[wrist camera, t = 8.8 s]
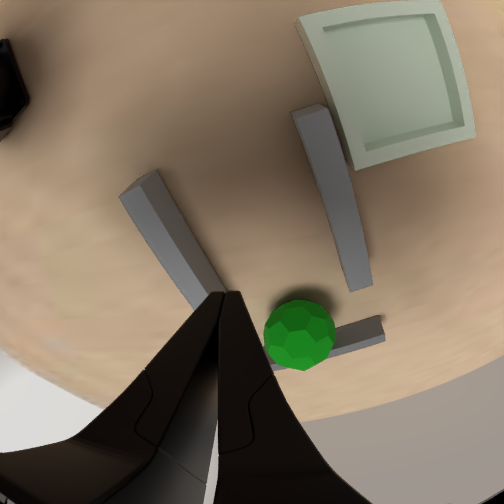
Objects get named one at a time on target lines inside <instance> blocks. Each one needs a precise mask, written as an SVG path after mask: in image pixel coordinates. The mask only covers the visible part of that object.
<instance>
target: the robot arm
mask: <svg viewBox="0 0 504 504" xmlns="http://www.w3.org/2000/svg"><path fill="white" fill-rule="evenodd" d="M28 104H29V95H28V92H27V90H26V88H25V85H24V83H23V80H22V77H21V75H20V72H19V69H18V67H17V64H16V61H15V58H14V55H13V52H12V49H11V46H10V43H9V40H8V39H1V40H0V142H1V140H2V139H3V138H4V136H5V135H6V134H7V133H8V131H9V130H10V129H11V128H12V126H13V122H14V121H15V119H16V118H17V117H18V116H19V115H20V113H21V112H22V111H23V110H24V109H25V108H26V107H27V105H28ZM217 420H218V454H219V457H218V461H219V462H218V463H219V464H218V480H217V485H216V491H215V496H214V502H213V504H372V503H371V502H370V501H368V500H367V499H366V498H365V497H364V496H362V495H361V494H360V493H359V492H358V491H356V490H355V489H354V488H353V487H352V486H350V485H349V484H348V483H347V482H346V481H345V480H343V479H342V478H341V477H340V476H339V475H338V474H337V473H336V472H335V471H334V470H333V469H332V468H331V467H330V466H329V464H328V463H327V462H326V461H325V459H324V458H323V457H322V455H321V454H320V452H319V451H318V450H317V448H316V447H315V445H314V444H313V442H312V441H311V439H310V438H309V436H308V435H307V433H306V432H305V430H304V429H303V427H302V426H301V424H300V423H299V421H298V420H297V418H296V416H295V415H294V413H293V411H292V410H291V408H290V406H289V404H288V403H287V401H286V399H285V397H284V395H283V392H282V390H281V388H280V386H279V384H278V382H277V379H276V377H275V375H274V372H273V370H272V368H271V365H270V363H269V361H268V358H267V356H266V353H265V351H264V349H263V346H262V344H261V341H260V339H259V337H258V334H257V332H256V329H255V327H254V324H253V322H252V320H251V317H250V315H249V312H248V310H247V307H246V305H245V302H244V300H243V297H242V295H241V292H240V291H227V292H224V291H212V292H211V293H210V294H209V295H208V296H207V297H206V298H205V299H204V301H203V302H202V303H201V304H200V305H199V306H198V307H197V309H196V310H195V311H194V312H193V313H192V314H191V315H190V317H189V318H188V319H187V320H186V321H185V322H184V323H183V325H182V326H181V327H180V328H179V329H178V330H177V331H176V333H175V334H174V335H173V336H172V337H171V338H170V340H169V341H168V342H167V343H166V344H165V345H164V346H163V348H162V349H161V350H160V351H159V352H158V353H157V354H156V356H155V357H154V358H153V359H152V360H151V361H150V363H149V364H148V365H147V366H146V367H145V370H142V372H141V373H140V374H139V375H138V376H137V377H136V379H135V380H134V381H133V382H132V383H131V384H130V385H129V386H128V387H127V388H126V389H125V391H124V392H123V393H122V394H120V395H119V396H118V397H117V398H116V399H115V400H114V401H113V402H112V403H111V404H110V405H109V406H108V407H107V408H106V409H105V410H104V411H102V412H101V413H100V414H99V415H98V416H97V417H96V418H95V419H94V420H93V421H92V422H90V423H89V424H88V425H87V426H86V427H85V428H84V429H83V430H81V431H80V432H79V433H77V434H76V435H74V436H73V437H71V438H69V439H67V440H64V441H60V442H57V443H53V444H48V445H44V446H40V447H35V448H30V449H25V450H19V451H14V452H6V453H0V504H203V501H204V495H205V490H206V483H207V478H208V472H209V465H210V460H211V454H212V448H213V443H214V437H215V431H216V426H217ZM479 504H504V489H503V490H501V491H500V492H498V493H496V494H494V495H493V496H491V497H489V498H488V499H486V500H484V501H482V502H481V503H479Z"/></svg>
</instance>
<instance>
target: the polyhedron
mask: <svg viewBox="0 0 504 504" xmlns="http://www.w3.org/2000/svg"><path fill="white" fill-rule="evenodd" d="M335 339H336V331H335V324H334V322H333V320H332V318H331V317H330V315H329V314H328V313H327V312H326V311H325V310H324V309H323V308H322V307H321V306H320V305H319V304H317V303H314V302H310V301H307V300H293V301H290V302H287V303H285V304H282V305H281V306H279V307H278V308H277V309H275V310H274V311H273V312H272V313H271V315H270V317H269V318H268V320H267V322H266V324H265V328H264V344H265V349H266V351H267V352H268V354H269V355H270V356H271V357H272V359H273V360H274V361H275V362H276V363H277V364H278V365H280V366H284V367H288V368H292V369H297V370H302V371H305V370H307V369H309V368H311V367H313V366H315V365H316V364H318V363H320V362H322V361H323V360H325V359H327V357H328V355H329V353H330V351H331V349H332V346H333V344H334V341H335Z"/></svg>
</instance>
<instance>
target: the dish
mask: <svg viewBox="0 0 504 504" xmlns="http://www.w3.org/2000/svg"><path fill="white" fill-rule="evenodd" d="M295 26H296V29H297V31H298V33H299V35H300V37H301V39H302V42H303V44H304V46H305V48H306V51H307V53H308V55H309V58H310V60H311V62H312V65H313V67H314V70H315V72H316V74H317V77H318V80H319V82H320V85H321V87H322V90H323V93H324V95H325V98H326V101H327V103H328V106H329V109H330V112H331V115H332V118H333V121H334V123H335V126H336V130H337V133H338V136H339V139H340V142H341V145H342V148H343V152H344V155H345V159H346V161H347V162H348V163H349V164H350V165H351V167H352V168H353V169H354V170H355V171H357V170H360V169H363V168H367V167H370V166H373V165H377V164H380V163H383V162H387V161H390V160H394V159H397V158H400V157H404V156H407V155H411V154H414V153H418V152H422V151H425V150H429V149H433V148H436V147H440V146H444V145H448V144H452V143H455V142H459V141H463V140H467V139H471V138H476V133H475V125H474V118H473V112H472V106H471V100H470V95H469V90H468V85H467V81H466V77H465V73H464V69H463V65H462V61H461V58H460V54H459V51H458V47H457V44H456V41H455V38H454V35H453V32H452V29H451V26H450V24H449V21H448V18H447V16H446V13H445V11H444V8H443V6H442V3H441V1H440V0H406V1H389V2H378V3H369V4H361V5H354V6H348V7H342V8H336V9H331V10H326V11H321V12H317V13H312V14H308V15H304V16H300V17H298V19H297V20H296V22H295Z"/></svg>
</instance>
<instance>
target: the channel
mask: <svg viewBox="0 0 504 504" xmlns="http://www.w3.org/2000/svg"><path fill="white" fill-rule="evenodd" d="M291 115H292V117H293V120H294V123H295V125H296V128H297V130H298V133H299V136H300V138H301V141H302V144H303V146H304V149H305V152H306V155H307V157H308V160H309V163H310V166H311V169H312V172H313V175H314V177H315V180H316V183H317V186H318V189H319V192H320V196H321V199H322V202H323V205H324V208H325V211H326V214H327V218H328V221H329V224H330V228H331V231H332V234H333V238H334V241H335V245H336V248H337V252H338V256H339V259H340V263H341V267H342V270H343V273H344V276H345V279H346V282H347V285H348V288H349V291H350V292H353V291H356V290H359V289H362V288H365V287H368V286H371V285H373V281H372V275H371V270H370V264H369V259H368V253H367V248H366V243H365V238H364V234H363V229H362V225H361V220H360V216H359V212H358V207H357V203H356V199H355V195H354V191H353V188H352V184H351V180H350V176H349V173H348V169H347V166H346V162H345V159H344V156H343V152H342V149H341V146H340V142H339V139H338V136H337V133H336V130H335V127H334V124H333V121H332V118H331V115H330V112H329V110H328V108H326V107H324V106H322V105H320V104H315V105H312V106H309V107H305V108H302V109H299V110H296V111H293V112H291ZM119 199H120V201H121V202H122V204H123V206H124V207H125V209H126V211H127V212H128V214H129V215H130V217H131V219H132V220H133V222H134V223H135V225H136V227H137V228H138V230H139V231H140V233H141V234H142V236H143V237H144V239H145V241H146V242H147V244H148V245H149V247H150V248H151V250H152V251H153V253H154V254H155V256H156V257H157V259H158V260H159V262H160V263H161V265H162V266H163V267H164V269H165V270H166V272H167V273H168V275H169V276H170V278H171V279H172V280H173V282H174V283H175V285H176V286H177V288H178V289H179V290H180V292H181V293H182V295H183V296H184V297H185V299H186V300H187V301H188V303H189V304H190V305H191V307H192V308H193V310H194V311H195V310H196V309H197V307H198V306H199V305H200V304H201V303H202V302H203V301H204V299H205V298H206V297H207V296H208V295H209V294H210V293H211V292H212V291H224V292H227V290H226V289H225V287H224V286H223V284H222V282H221V281H220V279H219V277H218V276H217V274H216V272H215V271H214V269H213V267H212V266H211V264H210V262H209V261H208V259H207V257H206V256H205V254H204V252H203V251H202V249H201V247H200V246H199V244H198V242H197V241H196V239H195V237H194V235H193V234H192V232H191V230H190V228H189V227H188V225H187V223H186V222H185V220H184V218H183V216H182V215H181V213H180V211H179V209H178V208H177V206H176V204H175V202H174V201H173V199H172V197H171V195H170V193H169V192H168V190H167V188H166V186H165V184H164V183H163V181H162V179H161V177H160V175H159V173H158V172H157V170H154V171H152V172H150V173H148V174H146V175H144V176H142V177H141V178H139V179H137V180H135V181H134V182H133V183H132V184H131V185H130V186H129V187H128V188H127V189H126V190H125V191H124V192H123V193H122V194H121V195H120V196H119ZM335 331H336V339H335V341H334V344H333V346H332V349H331V351H330V353H329V355H328V357H327V358H331V357H335V356H338V355H342V354H345V353H349V352H352V351H356V350H359V349H362V348H366V347H369V346H372V345H375V344H378V343H381V342H384V341H385V333H384V330H383V327H382V324H381V321H380V319H379V316H378V315H377V316H374V317H371V318H368V319H365V320H362V321H359V322H356V323H352V324H349V325H346V326H343V327H339V328H336V329H335ZM263 349H264V351H265V353H266V356H267V358H268V361H269V363H270V365H271V368H272V370H273V371H276V370H281V369H286V368H288V367H284V366H280V365H278V364H277V363H276V362H275V361H274V360H273V359H272V357H271V356H270V355H269V354H268V352H267V351H266V349H265V347H263Z"/></svg>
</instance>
